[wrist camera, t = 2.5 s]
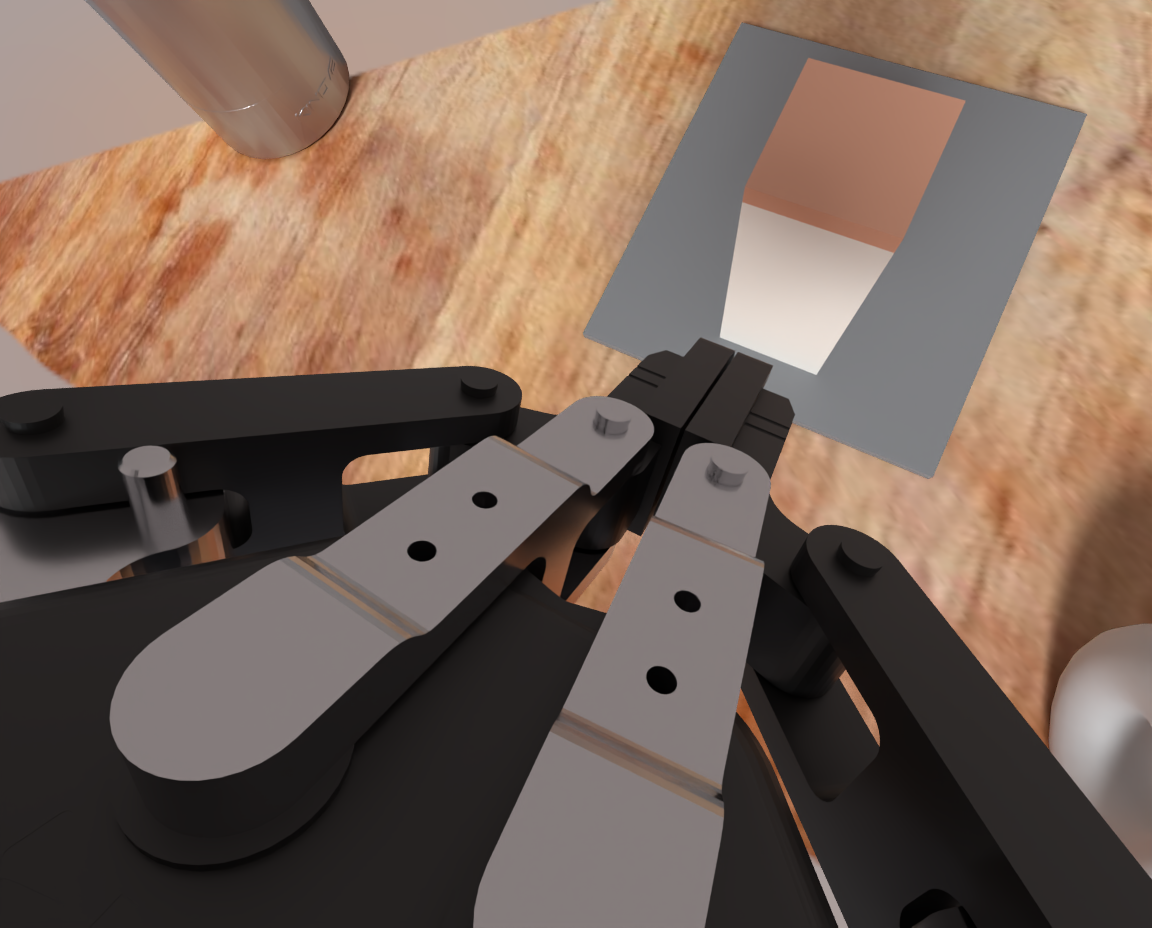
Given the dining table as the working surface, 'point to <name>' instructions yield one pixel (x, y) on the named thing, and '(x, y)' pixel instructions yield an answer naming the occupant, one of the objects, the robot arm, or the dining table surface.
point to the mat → (906, 285)
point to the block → (829, 207)
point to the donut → (1110, 731)
